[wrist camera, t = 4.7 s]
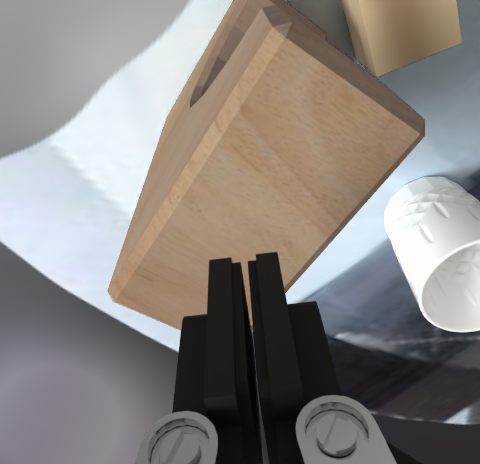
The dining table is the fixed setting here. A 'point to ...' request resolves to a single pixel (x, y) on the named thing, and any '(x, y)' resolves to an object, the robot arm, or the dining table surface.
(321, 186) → the decorative block
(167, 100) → the dining table surface
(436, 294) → the white cup
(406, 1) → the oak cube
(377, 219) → the dining table surface
